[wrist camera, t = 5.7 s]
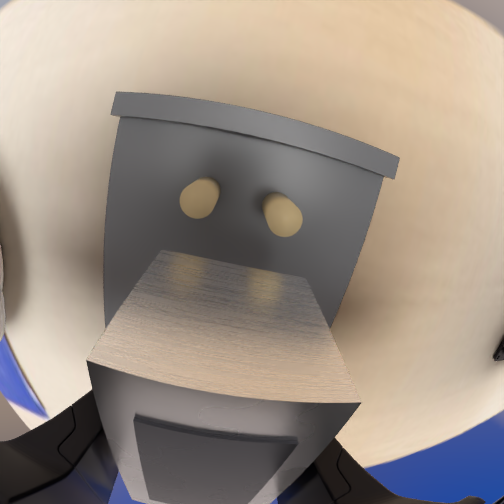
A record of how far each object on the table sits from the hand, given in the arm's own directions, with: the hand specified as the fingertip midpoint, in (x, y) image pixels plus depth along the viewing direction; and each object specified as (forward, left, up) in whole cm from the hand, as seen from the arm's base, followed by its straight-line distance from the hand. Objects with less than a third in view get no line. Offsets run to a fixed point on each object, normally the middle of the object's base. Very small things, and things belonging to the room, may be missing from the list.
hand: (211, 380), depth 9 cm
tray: (0, 0, -6) cm, 6 cm away
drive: (0, 0, -1) cm, 1 cm away
